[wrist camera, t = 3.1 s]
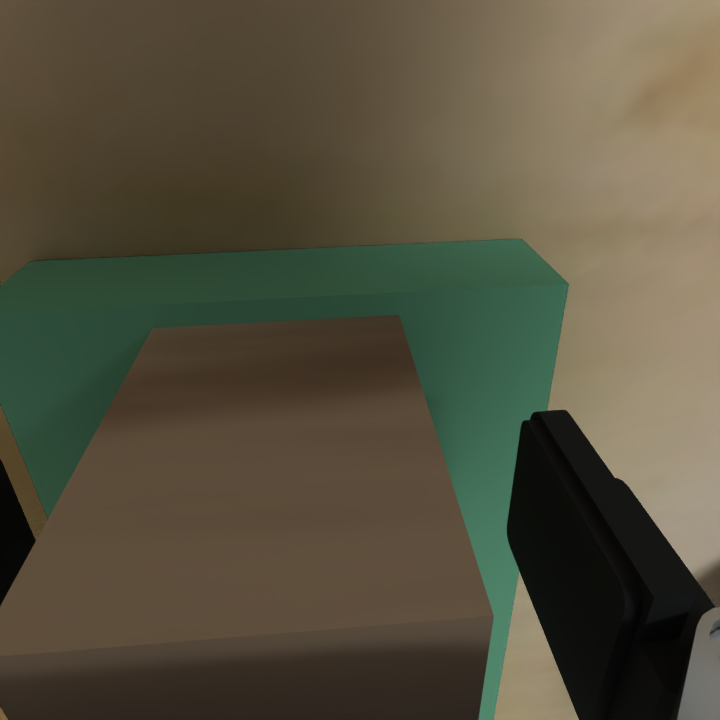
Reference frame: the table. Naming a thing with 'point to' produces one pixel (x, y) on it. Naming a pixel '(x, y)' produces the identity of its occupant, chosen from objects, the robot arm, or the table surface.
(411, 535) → the block
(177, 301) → the board
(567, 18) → the table surface
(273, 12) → the table surface
